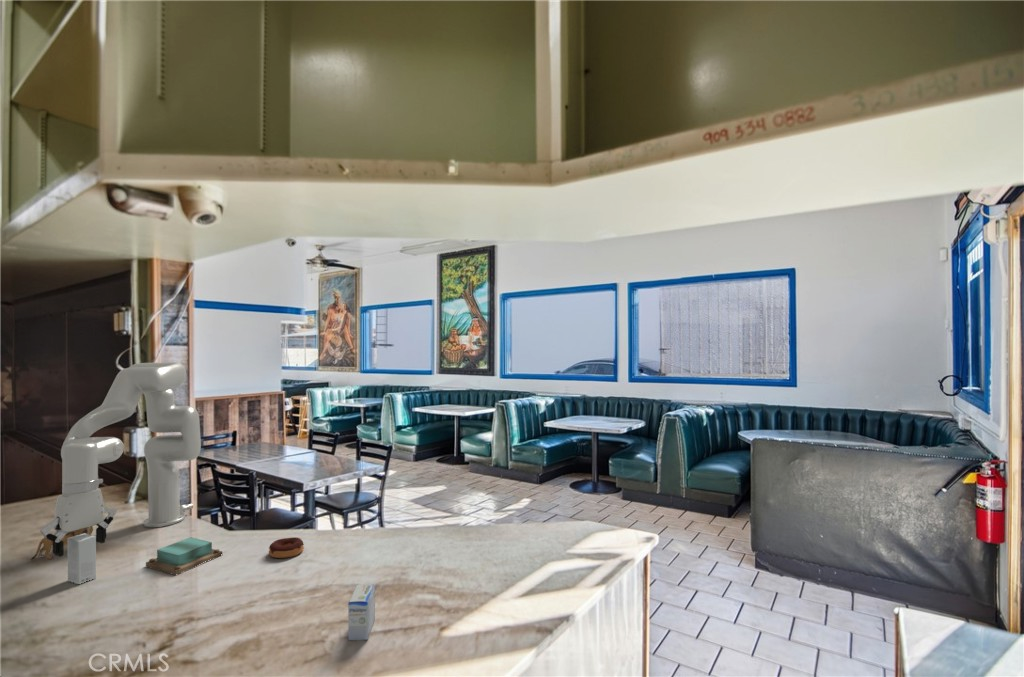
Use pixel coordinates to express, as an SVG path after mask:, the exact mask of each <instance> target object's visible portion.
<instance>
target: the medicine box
mask: <svg viewBox="0 0 1024 677" xmlns="http://www.w3.org/2000/svg"><path fill="white" fill-rule="evenodd" d="M375 599H376V585H375V584H369V583H368V584H356V585H355V588H354V590H353V592H352V595H351V596H350V598H349V602H348V604H347V605H348V609H347V610H348V613H347V614H348V615H347V616H348V620H347V622H348V624H347V625H348V626H347V627H348V636H347V637H348V641H365V640H369V638H370V634H371V633H372V632H371V631H372V628H373V625H374V622H375V618H376V600H375Z"/></svg>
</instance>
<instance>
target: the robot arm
mask: <svg viewBox="0 0 1024 677" xmlns="http://www.w3.org/2000/svg"><path fill="white" fill-rule="evenodd" d="M186 378H187V371H186V368H185V366H184V365H183V364H182V363H180V362H140V363H139V362H138V363H135V364H131V365H130V366H129V367H126V368H123V369H121V370H120V371H119V372H118V373H117V375H116V376H115V378H114V380H113V382H112V384H111V386H110V388H109V390H108V392H107V394H106V396H105V398H104V400H103V401H102V404H101V405H100V406H98V407H96V408H95V409H93V410H91V411H90V412H89V413H88V412H87V414H86V415H84V416H83V417H81V418H80V419H79V420H78V421H77V422H75V423H74V425H72V426H71V428H70V430H69V431H68V433H67V436H66V437H65V439H64V441H63V444H62V446H61V450H60V456H61V460H62V461H61V462H62V463H61V465H62V466H61V467H62V469H61V471H62V473H61V476H62V477H61V478H62V479H61V480H62V481H61V482H62V484H61V487H62V488H61V493H62V494H59V495H58V496H57V499H56V501H55V502H56V504H55V508H54V517H53V520H51V521H50V522H48V523H47V524H45V525H43V526H42V527H41V528H39V532H40V533H41V534H42V535H43V538H44V537H45V538H47V539H49V540H50V541H53V545H52V554H53V555H54V556H57V557H60V558H61V557H63V556H64V552H65V550H64V548H65V546H64V542H63V541H61V540H62V538H63V537H64V536H65V535H66V533H68V532H72V531H76V530H79V529H83V528H86V527H90V526H92V527H93V526H96V529H95V536H96V543H98V544H99V543H100V544H105V543H106V539H107V528H109V525H110V524H111V522H113V520H114V517H115V516H116V514H117V509H115V508H110V507H105V505H104V504H105V502H104V497H103V494H102V490H101V488H99V487H100V486H99V485H101V484H103V483H104V479H103V478H99V465H100V464H106V463H107V464H108V463H111V462H115V461H116V460H118V459H119V458H120V457H121V456H122V454H123V452H124V450H125V443H123V441H122V440H121V439H120V438H118V437H115V436H93V437H91V436H92V435H93V434H94V433H96V432H97V431H99V430H101V429H103V428H104V427H107V426H109V425H112V424H115V423H118V422H121V421H124V420H126V419H128V418H130V417H131V416H132V415H133V414H134V413H135V410H136V408H137V407H138V404H139V402H140V399H141V397H142V395H144V399H145V407H146V408H145V409H146V419H147V420H146V422H147V427H148V429H149V431H150V432H153V433H155V434H156V433H158V434H160V433H161V434H162V435H156V436H152V437H151V438H149V439H147V441H146V442H145V444H144V447H143V452H144V458H145V461H146V467H147V469H146V470H147V494H148V495H147V496H148V497H147V501H148V502H147V504H148V505H147V507H148V508H147V510H148V511H147V513H148V515H147V516H148V517H147V518H145V520H143V521H142V522H143V523H142V525H143V527H146V528H161V527H167V526H171V525H174V524H178V523H180V522H181V521H183V520H185V518H186V514H185V513H184V512H185V511H189V510H192V509H193V508H194V504H193V503H190V504H180V503H181V502H180V499H181V498H180V497H181V494H180V493H181V492H180V470H179V468H178V466H177V465H176V463H175V462H183V461H193V460H195V459H197V458H199V456H200V453H201V449H202V448H201V447H202V443H201V442H202V440H201V423H200V422H201V421H200V414H199V412H198V410H197V409H196V408H195V407H194V406H190V405H178V406H177V405H176V404H175V403H176V402H175V394H174V393H175V392H174V390H173V389H174V388H178V387H180V386H181V385H183V383H184V382H185V380H186ZM165 433H166V434H167V433H169V434H167V435H166V434H165ZM170 433H180V434H170ZM163 434H165V435H163ZM105 513H107V516H106V517H105ZM51 529H53V530H54V533H52V532H51Z"/></svg>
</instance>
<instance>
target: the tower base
mask: <svg viewBox="0 0 1024 677" xmlns="http://www.w3.org/2000/svg"><path fill="white" fill-rule="evenodd" d="M221 554H222V555H223V551H222V550H220V549H214V548H213V542H212V541H207V540H204V539H199V538H196V537H191V536H190V537H188V538H183V539H182V540H180V541H177V542H174V543H172V544H169V545H166V546H164V547H161V548H158V549H156V557H157V558H150V559H149V560H148V561H146V562H145V567H146V566H147V567H146V568H149V567H151V568H150V569H153V568H154V570H156V569H157V570H156V571H160V570H161V571H160V572H163V571H164V572H163V573H166V572H167V573H166V574H170V573H172V574H171V575H173V574H175V575H174V576H177V575H176V574H178V573H180V574H182V573H181V572H183V571H185V572H187V571H189V570H188V569H190V570H192V569H194V568H196V567H198V566H197V565H199V564H201V563H203V562H205V561H208V560H210V559H213V558H215V557H217V556H219V555H221ZM217 558H218V557H217ZM215 559H216V558H215ZM213 560H214V559H213ZM210 561H211V560H210ZM208 562H209V561H208ZM203 564H204V563H203ZM201 565H202V564H201ZM195 566H196V567H195ZM199 566H200V565H199ZM193 567H194V568H193ZM191 568H192V569H191ZM186 570H187V571H186ZM183 573H184V572H183ZM178 575H179V574H178Z"/></svg>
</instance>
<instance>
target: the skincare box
mask: <svg viewBox="0 0 1024 677" xmlns="http://www.w3.org/2000/svg"><path fill="white" fill-rule="evenodd" d="M66 547H67V581H68V582H70V581H71V583H73V582H74V583H73V584H76V585H78V584H80V585H82V584H81V583H83V584H85V583H87V582H86V581H88V582H90V581H92V579H93V580H96V579H97V542H96V535H92V534H91V535H89V534H85V533H84V534H80V535H77V536H74V537H70V538H68V539H67V546H66ZM95 578H96V579H95ZM89 580H90V581H89ZM84 582H85V583H84Z"/></svg>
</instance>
